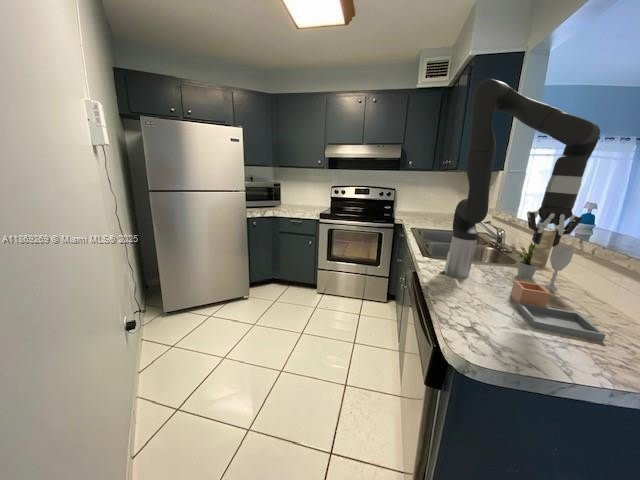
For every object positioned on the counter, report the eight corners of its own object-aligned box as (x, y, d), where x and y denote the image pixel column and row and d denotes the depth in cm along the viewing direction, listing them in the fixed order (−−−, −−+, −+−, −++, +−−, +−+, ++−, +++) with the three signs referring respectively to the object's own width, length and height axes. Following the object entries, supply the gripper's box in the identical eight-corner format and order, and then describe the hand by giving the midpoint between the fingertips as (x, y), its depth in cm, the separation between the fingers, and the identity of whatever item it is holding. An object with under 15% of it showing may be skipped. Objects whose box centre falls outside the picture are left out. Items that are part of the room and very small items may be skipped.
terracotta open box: (517, 307, 87) (523, 289, 85) (509, 297, 94) (514, 280, 92) (544, 312, 85) (550, 293, 83) (533, 302, 92) (539, 284, 90)
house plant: (501, 266, 127) (510, 235, 122) (536, 273, 121) (546, 239, 116) (507, 276, 114) (517, 241, 110) (546, 284, 108) (558, 247, 104)
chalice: (566, 295, 98) (581, 251, 94) (546, 293, 100) (560, 249, 95) (553, 287, 105) (567, 245, 101) (534, 285, 107) (547, 244, 102)
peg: (533, 266, 84) (544, 230, 81) (527, 262, 88) (538, 228, 85) (547, 268, 83) (559, 232, 80) (541, 264, 87) (553, 230, 83)
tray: (532, 330, 74) (535, 321, 73) (516, 310, 85) (518, 302, 85) (601, 344, 70) (605, 335, 69) (575, 321, 81) (578, 312, 80)
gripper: (539, 190, 77) (523, 244, 82) (598, 194, 73) (578, 251, 78) (528, 188, 84) (514, 238, 89) (582, 193, 80) (564, 245, 85)
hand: (544, 244), depth 83 cm, fingers closed on peg, 4 cm apart
